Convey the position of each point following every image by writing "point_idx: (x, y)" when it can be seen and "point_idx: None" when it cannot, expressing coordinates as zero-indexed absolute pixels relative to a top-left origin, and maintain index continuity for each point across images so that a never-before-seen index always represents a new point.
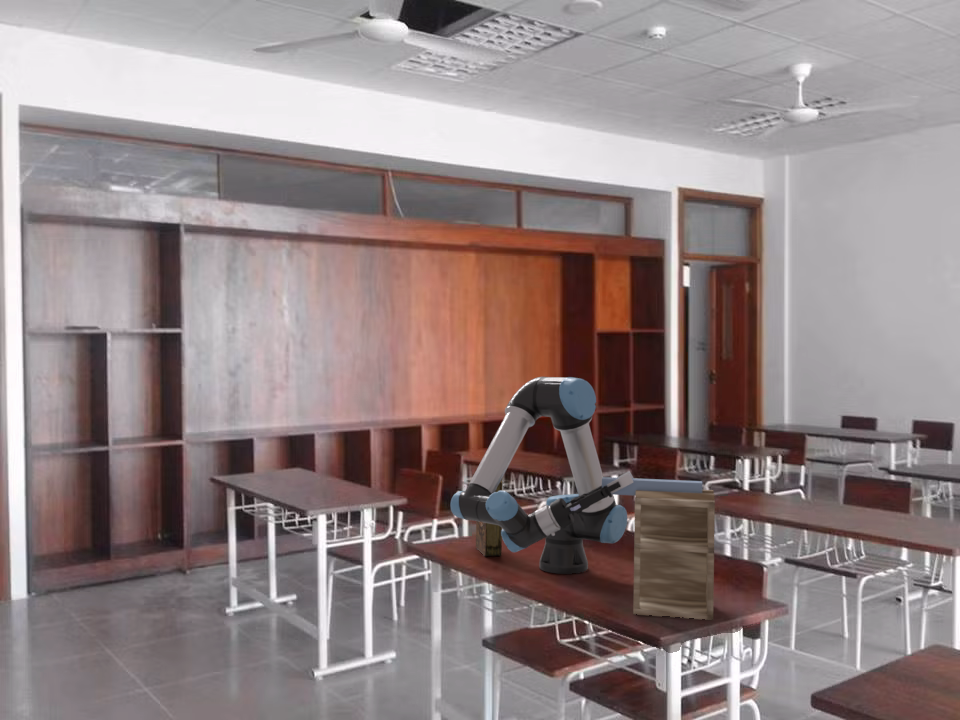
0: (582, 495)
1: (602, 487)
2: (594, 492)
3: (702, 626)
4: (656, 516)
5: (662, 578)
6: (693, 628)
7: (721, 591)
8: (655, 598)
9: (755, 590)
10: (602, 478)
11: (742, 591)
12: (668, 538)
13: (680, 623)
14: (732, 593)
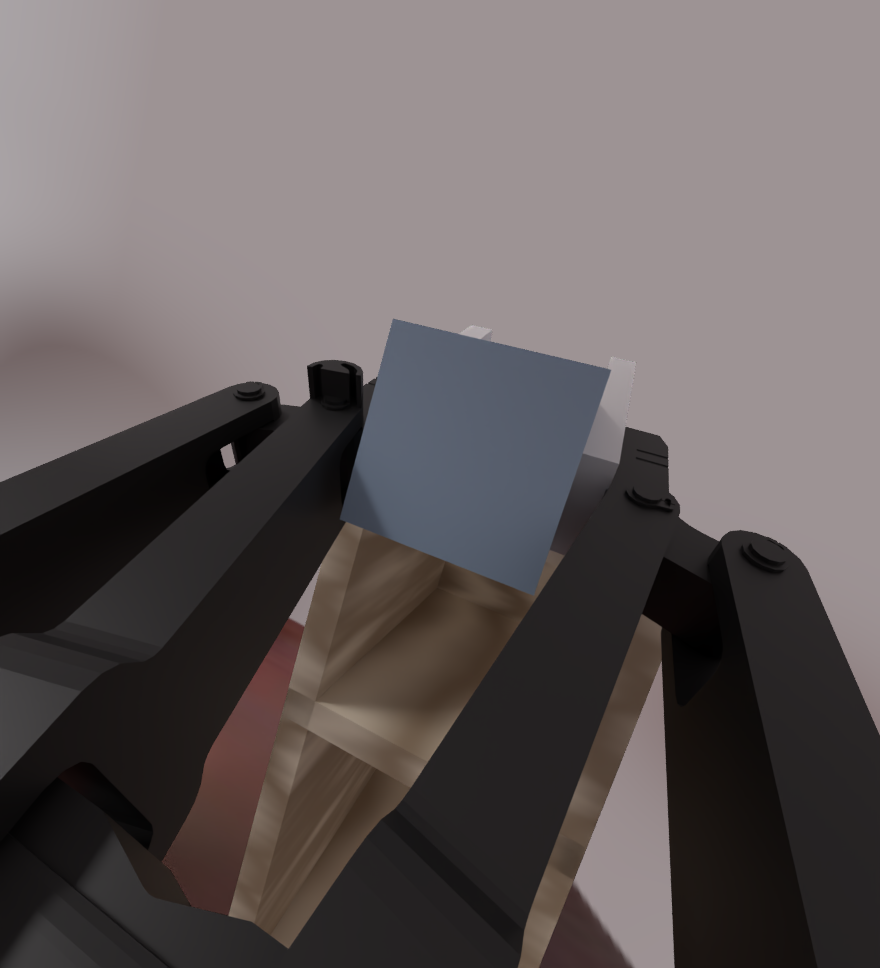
0: (329, 900)
1: (563, 500)
2: (775, 673)
3: (577, 893)
4: (389, 574)
5: (334, 799)
6: (609, 940)
7: (266, 665)
8: (312, 900)
9: (291, 621)
10: (547, 356)
11: (287, 638)
12: (449, 657)
13: (562, 959)
14: (292, 658)
